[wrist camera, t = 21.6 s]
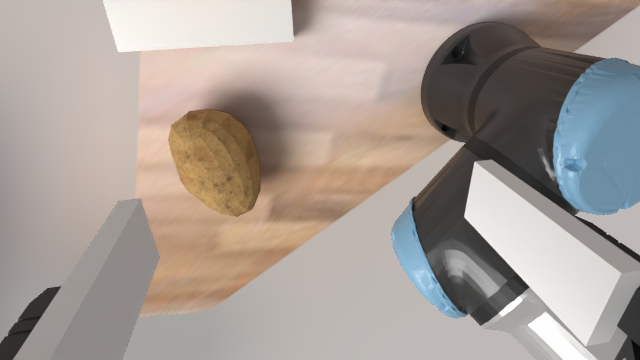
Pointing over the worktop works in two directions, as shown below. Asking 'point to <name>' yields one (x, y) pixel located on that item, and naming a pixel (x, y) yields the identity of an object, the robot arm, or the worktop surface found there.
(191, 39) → the socket board
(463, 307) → the robot arm
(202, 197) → the potato
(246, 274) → the worktop surface
